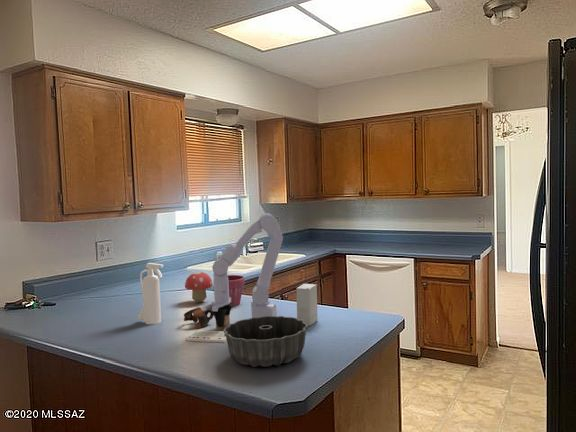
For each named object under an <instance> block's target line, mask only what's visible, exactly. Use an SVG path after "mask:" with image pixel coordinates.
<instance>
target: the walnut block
mask: <svg viewBox="0 0 576 432" xmlns="http://www.w3.org/2000/svg"><path fill="white" fill-rule="evenodd" d="M230 321H231V320H230V315H225V317H224V326H223V327H218V326H217V323H216V322H215V331H224V328H226V327H228V325H229V324H231V323H230Z"/></svg>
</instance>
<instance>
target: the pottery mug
mask: <svg viewBox="0 0 576 432" xmlns="http://www.w3.org/2000/svg"><path fill="white" fill-rule="evenodd" d="M211 309H212V308H208V309H205V310H203V309H202V307H196V308H193V309H190V310H188V311H185V313H183V316H184V318H183V321H184V322H188V321H193V323H194V327H195V329H196V330H199V329H200V328H203V327H208V325H209V323H210V321H211V320H212V319H213V318H214V315H213V313H212V312H211ZM208 315H209V316H208Z"/></svg>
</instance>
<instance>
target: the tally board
mask: <svg viewBox="0 0 576 432" xmlns="http://www.w3.org/2000/svg"><path fill="white" fill-rule="evenodd" d="M224 334H225V333H224V330H204V329H203V330H202V329H196V331H195V332H192V334H190V335H188V336H187V337H186V338H185V341H186V342H205V343H206V342H207V343H221V344H222V343H227V339H226V336H224Z"/></svg>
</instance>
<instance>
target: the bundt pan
mask: <svg viewBox="0 0 576 432" xmlns="http://www.w3.org/2000/svg"><path fill="white" fill-rule="evenodd" d="M308 327H309V326H308V325H307V324H306V323H304V321H303V320H299V319H297V317H293V316H292V317H291V316H283V315H279V316H278V315H277V317H276V316H264V317H258V318H252V317H250V318H246V319H240V320H237V321H235V322H233V323H230V324H229V325H228V327H226V328H224V330H223V331H224V333H225V334H224V336H226V339H227V341H226V343H227V348H228V352H229V356H230V357H231V358H232V359H233V360H234V361H235V362H237V363H240V364H242V365H245V366H251V367H253V368H256V367H258V366H260V367H263V368H268V367H270V366H272V365H274V366H276V367H279V366H280V365H281V364H287V363H290V362H291V361H293V360H296V359H298V358H299V357H300V356H301V355H302V353H303V350H304V348H305V344H306V334H307V328H308Z"/></svg>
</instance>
